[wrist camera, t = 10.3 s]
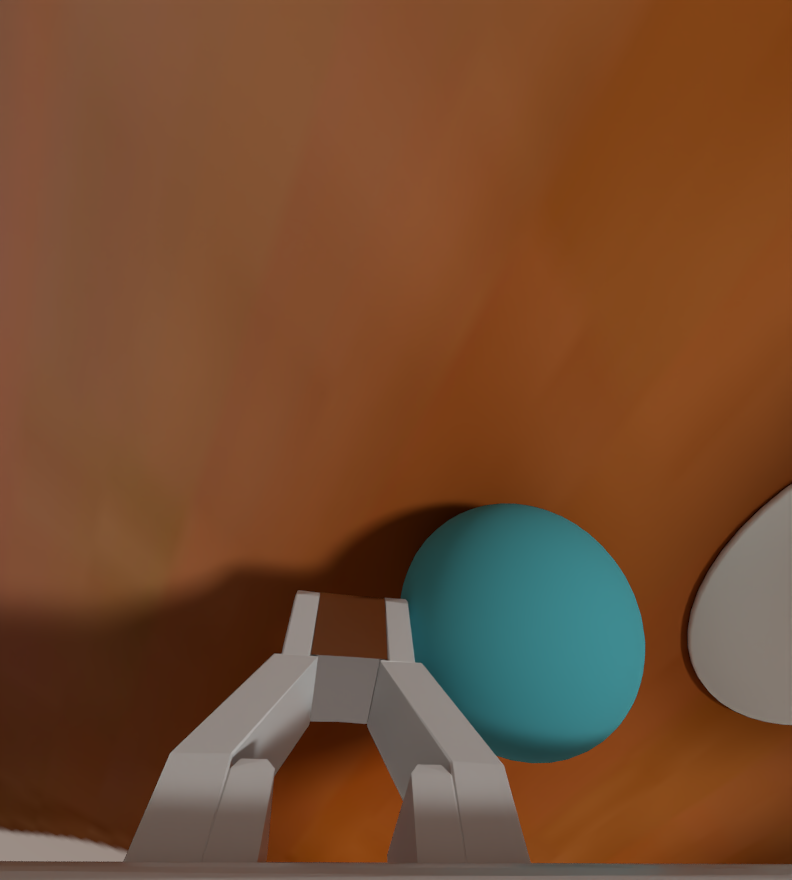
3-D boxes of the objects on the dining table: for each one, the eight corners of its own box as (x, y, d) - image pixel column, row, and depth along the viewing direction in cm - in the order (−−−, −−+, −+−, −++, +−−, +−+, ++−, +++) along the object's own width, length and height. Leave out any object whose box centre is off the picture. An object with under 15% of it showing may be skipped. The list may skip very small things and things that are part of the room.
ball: (445, 522, 14) (612, 585, 12) (379, 688, 11) (577, 798, 10) (444, 434, 9) (707, 513, 8) (332, 674, 7) (690, 876, 5)
